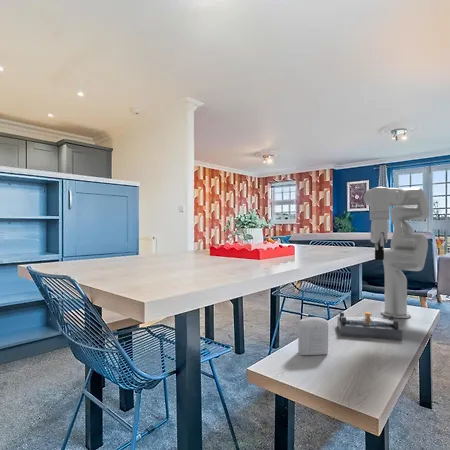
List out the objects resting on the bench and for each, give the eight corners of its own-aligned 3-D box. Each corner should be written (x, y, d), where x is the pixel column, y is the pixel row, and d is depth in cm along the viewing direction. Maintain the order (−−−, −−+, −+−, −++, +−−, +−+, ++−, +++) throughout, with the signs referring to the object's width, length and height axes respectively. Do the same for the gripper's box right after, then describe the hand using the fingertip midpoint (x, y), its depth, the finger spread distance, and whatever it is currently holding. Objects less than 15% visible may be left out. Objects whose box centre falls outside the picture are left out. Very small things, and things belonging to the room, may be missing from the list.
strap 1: (341, 322, 127) (341, 319, 127) (340, 318, 132) (340, 315, 132) (366, 322, 125) (366, 319, 125) (363, 319, 130) (363, 316, 130)
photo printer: (324, 350, 110) (324, 315, 110) (330, 355, 106) (330, 318, 106) (296, 351, 109) (296, 316, 108) (301, 356, 104) (301, 320, 104)
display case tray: (337, 325, 135) (337, 307, 135) (393, 330, 130) (393, 310, 130) (340, 335, 124) (340, 315, 124) (401, 340, 118) (402, 319, 118)
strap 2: (393, 322, 127) (393, 319, 127) (396, 326, 122) (396, 323, 122) (368, 318, 129) (369, 316, 129) (371, 322, 124) (371, 319, 124)
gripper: (366, 216, 141) (366, 257, 141) (373, 216, 126) (373, 261, 127) (384, 216, 139) (384, 257, 139) (394, 216, 125) (393, 262, 125)
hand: (379, 259), depth 133 cm, fingers closed
